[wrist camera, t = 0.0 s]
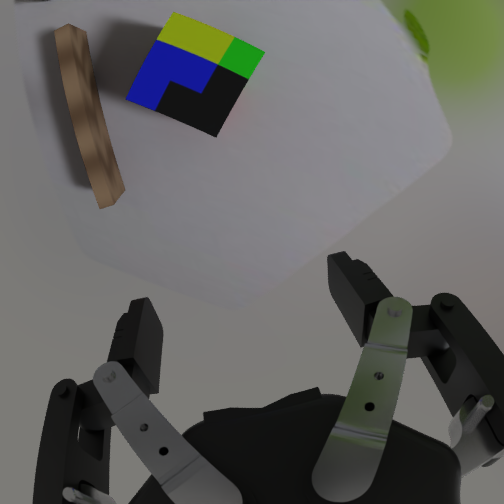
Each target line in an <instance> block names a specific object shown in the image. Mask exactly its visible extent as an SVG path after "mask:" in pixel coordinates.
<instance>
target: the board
mask: <svg viewBox="0 0 504 504" xmlns="http://www.w3.org/2000/svg"><path fill="white" fill-rule="evenodd" d="M54 32H55V40H56V46H57V53H58V59H59V65H60V70H61V75H62V80H63V85H64V90H65V94H66V99H67V103H68V107H69V111H70V116H71V119H72V123H73V127H74V131H75V134H76V138H77V142H78V145H79V148H80V152H81V155H82V158H83V162H84V165H85V168H86V171H87V174H88V177H89V180H90V183H91V186H92V189H93V192H94V195H95V197H96V200H97V203H98V206H99V208H100V209H102V208H105V207H108V206H112V205H114V204H115V203H116V201H117V200H118V199H119V197H120V196H121V195H122V193H123V192H124V191H125V187H124V184H123V181H122V178H121V175H120V172H119V168H118V165H117V162H116V158H115V155H114V152H113V148H112V145H111V141H110V138H109V134H108V130H107V127H106V123H105V119H104V115H103V111H102V107H101V103H100V99H99V94H98V90H97V86H96V81H95V76H94V72H93V67H92V62H91V56H90V51H89V45H88V40H87V34H86V31H84V30H82V29H80V28H77V27H75V26H73V25H71V24H69V23H68V24H66V25H64V26H62V27H61V28H59V29H57V30H55V31H54Z"/></svg>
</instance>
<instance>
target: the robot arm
mask: <svg viewBox="0 0 504 504" xmlns="http://www.w3.org/2000/svg"><path fill="white" fill-rule="evenodd" d="M327 263H328V283H329V289H330V293H331V295H332V297H333V299H334V301H335V303H336V304H337V306H338V308H339V310H340V311H341V313H342V315H343V317H344V318H345V320H346V322H347V324H348V325H349V327H350V329H351V331H352V333H353V334H354V336H355V338H356V340H357V342H358V343H359V345H360V347H364V348H363V351H362V354H361V358H360V361H359V364H358V366H357V369H356V373H355V375H354V378H353V381H352V384H351V386H350V389H349V392H348V395H347V397H345V396H340V395H334V394H321V393H320V390H319V388H318V387H316V388H312V389H309V390H305V391H301V392H298V393H294V394H290V395H288V396H286V397H284V398H282V399H280V400H278V401H276V402H274V403H272V404H270V405H267V406H266V407H263V408H226V409H220V410H214V411H208V412H204V413H203V416H204V420H203V421H201V422H199V423H197V424H195V425H193V426H192V427H190V428H189V429H188V430H187V431H185V432H184V433H183V434H182V435H181V434H180V433H179V432H178V431H177V430H176V429H175V428H174V427H173V426H172V425H171V424H170V423H169V422H168V421H167V419H166V418H165V417H164V416H163V415H162V414H161V413H160V412H159V411H158V409H157V408H156V407H155V406H154V405H153V404H152V402H151V401H150V400H149V394H157V393H159V379H160V366H161V355H162V343H163V328H162V324H161V322H160V320H159V318H158V316H157V314H156V312H155V310H154V307H153V306H152V303H151V301H150V299H149V298H148V297H146V298H140V299H136V300H132V301H131V303H130V306H129V310H128V313H124V314H123V315H122V316H121V318H120V319H119V321H118V322H117V326H116V329H115V333H114V337H113V338H114V339H113V340H112V344H111V348H110V352H109V356H108V360H107V363H104V364H103V365H101V366H100V367H99V368H98V369H97V370H96V371H95V373H94V376H93V380H90V381H88V382H85V383H83V384H80V385H77V384H76V383H75V381H74V380H72V379H64V380H61V381H60V382H58V383H57V384H56V385H55V386H54V388H53V389H52V392H51V395H50V400H49V404H48V408H47V412H46V416H45V421H44V426H43V431H42V436H41V441H40V447H39V453H38V460H37V466H36V474H35V483H34V493H33V504H116V503H115V501H114V499H113V498H112V497H110V496H109V460H110V439H111V438H110V437H111V427H112V426H115V425H116V426H117V427H118V429H119V430H120V432H121V433H122V435H123V436H124V438H125V439H126V440H127V442H128V443H129V444H130V446H131V447H132V449H133V450H134V451H135V453H136V454H137V456H138V457H139V458H140V459H141V461H142V462H143V463H144V465H145V466H146V467H147V468H148V470H149V471H150V472H151V473H152V474H151V476H150V477H149V478H148V480H147V481H146V482H145V483H144V485H143V486H142V487H141V488H140V490H139V491H138V493H136V495H135V496H134V497H133V498H132V500H131V501H130V502H129V504H460V485H461V478H462V477H464V476H466V475H467V474H469V473H471V472H472V471H474V470H476V469H477V468H479V467H480V466H482V467H486V466H490V465H492V464H493V463H495V462H496V461H497V460H498V459H500V458H501V457H502V456H503V455H504V355H503V353H502V352H501V351H500V349H499V348H498V346H497V345H496V344H495V342H494V341H493V340H492V339H491V337H490V336H489V335H488V333H487V332H486V331H485V329H484V328H483V327H482V326H481V324H480V323H479V322H478V321H477V319H476V318H475V317H474V316H473V315H472V313H471V312H470V311H469V310H468V308H467V307H466V306H465V305H464V304H463V303H462V301H461V300H460V299H459V298H458V297H457V296H455V295H452V294H449V293H440V294H437V295H435V296H434V297H433V298H432V300H431V304H430V305H421V306H411V304H410V303H409V302H408V301H407V300H405V299H403V298H400V297H394V296H393V295H392V294H391V293H390V291H389V290H388V289H387V288H386V286H385V285H384V284H383V283H382V282H381V280H380V279H379V278H377V275H375V273H374V272H373V271H372V269H371V268H370V267H369V266H368V265H367V264H366V263H364V262H362V261H360V260H358V259H356V260H351V258H350V257H349V256H348V254H347V253H346V252H345V251H343V252H338V253H334V254H330V255H328V257H327ZM416 357H420V358H421V359H422V361H423V363H424V365H425V366H426V368H427V370H428V372H429V373H430V375H431V377H432V378H433V380H434V382H435V384H436V386H437V387H438V390H439V391H440V393H441V395H442V397H443V399H444V401H445V403H446V405H447V407H448V408H449V410H450V412H451V414H452V416H453V419H452V421H451V422H450V425H449V435H450V438H451V446H450V447H449V446H448V445H447V444H445V443H443V442H441V441H438V440H436V439H434V438H432V437H429V436H427V435H424V434H423V433H420V432H418V431H416V430H414V429H412V428H410V427H407V426H405V425H403V424H401V423H399V422H397V421H395V420H393V415H394V411H395V408H396V404H397V400H398V395H399V391H400V387H401V382H402V378H403V373H404V368H405V363H406V359H407V358H416ZM79 427H80V431H79V439H78V430H79Z"/></svg>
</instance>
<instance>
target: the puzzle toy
mask: <svg viewBox="0 0 504 504" xmlns="http://www.w3.org/2000/svg"><path fill="white" fill-rule="evenodd" d="M264 53H265V52H264V51H262V50H260V49H258V48H256V47H254V46H252V45H250V44H248V43H246V42H244V41H242V40H240V39H238V38H236V37H234V36H232V35H229V34H227V33H225V32H223V31H221V30H218V29H216V28H214V27H211V26H209V25H207V24H204V23H202V22H199V21H197V20H194V19H192V18H189V17H186V16H184V15H181V14H178V13H175V12H173V13H172V15H171V16H170V18H169V20H168V21H167V23H166V24H165V26H164V28H163V29H162V31H161V33H160V34H159V36H158V38H157V39H156V41H155V43H154V45H153V46H152V48H151V50H150V52H149V53H148V55H147V57H146V59H145V61H144V63H143V65H142V66H141V68H140V70H139V72H138V74H137V76H136V78H135V80H134V82H133V84H132V86H131V88H130V91H129V93H128V95H127V97H126V100H128V101H131V102H134V103H136V104H139V105H141V106H144V107H146V108H149V109H151V110H154V111H156V112H159V113H161V114H164V115H166V116H168V117H171V118H173V119H176V120H178V121H180V122H182V123H185V124H187V125H189V126H192V127H194V128H196V129H198V130H201V131H203V132H205V133H207V134H209V135H211V136H214V137H217V135H218V133H219V131H220V130H221V128H222V126H223V124H224V122H225V120H226V118H227V117H228V115H229V113H230V111H231V109H232V108H233V106H234V104H235V102H236V101H237V99H238V97H239V95H240V94H241V92H242V90H243V88H244V87H245V85H246V83H247V81H248V80H249V78H250V76H251V75H252V73H253V71H254V70H255V68H256V66H257V65H258V63H259V62H260V60H261V58H262V57H263V55H264Z"/></svg>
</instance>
